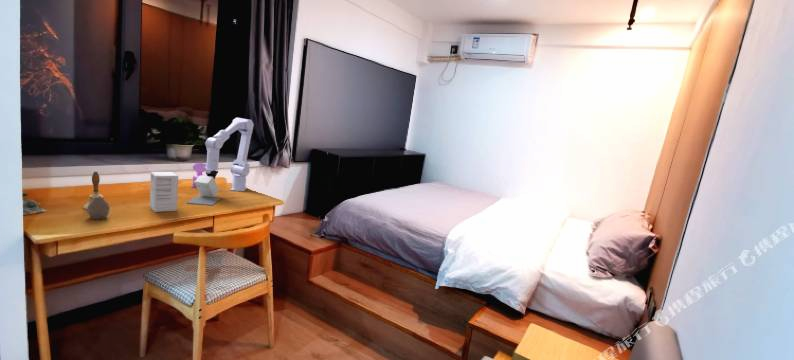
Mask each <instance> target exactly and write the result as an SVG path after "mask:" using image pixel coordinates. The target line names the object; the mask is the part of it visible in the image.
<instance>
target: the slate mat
mask: <svg viewBox="0 0 794 360" xmlns="http://www.w3.org/2000/svg"><path fill="white" fill-rule="evenodd" d="M220 200H221V198H220V197H207V196H201V195H195V196H194V197H193V198H191V199H189V200H188V201H187V202H186V204H190V205H201V206H214V205H215V204H216V203H218V202H219V201H220Z"/></svg>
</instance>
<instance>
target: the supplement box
mask: <svg viewBox="0 0 794 360" xmlns="http://www.w3.org/2000/svg"><path fill="white" fill-rule="evenodd" d="M178 190H179V175H178V174H176V173H175V172H174V171H151V172H150V192H149V208H150V209H151V210H152V211H153V212H154V213H157V212H172V211H173V212H175V211H177V210H178Z"/></svg>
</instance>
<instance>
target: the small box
mask: <svg viewBox="0 0 794 360" xmlns="http://www.w3.org/2000/svg"><path fill="white" fill-rule="evenodd" d="M194 183H195V185H196V187H195V188H196V189H197V191H198V192H199V196H203V197H214V198H216V196H217V194H218V193H219V192H220V189H219V188H218V187H219V186H218V185H217V183H216V180H214V178H213V177H210V176H207V175H205V176H201V175H200V176H199V177H198V178H197V179H196V180H195V181H194Z"/></svg>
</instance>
